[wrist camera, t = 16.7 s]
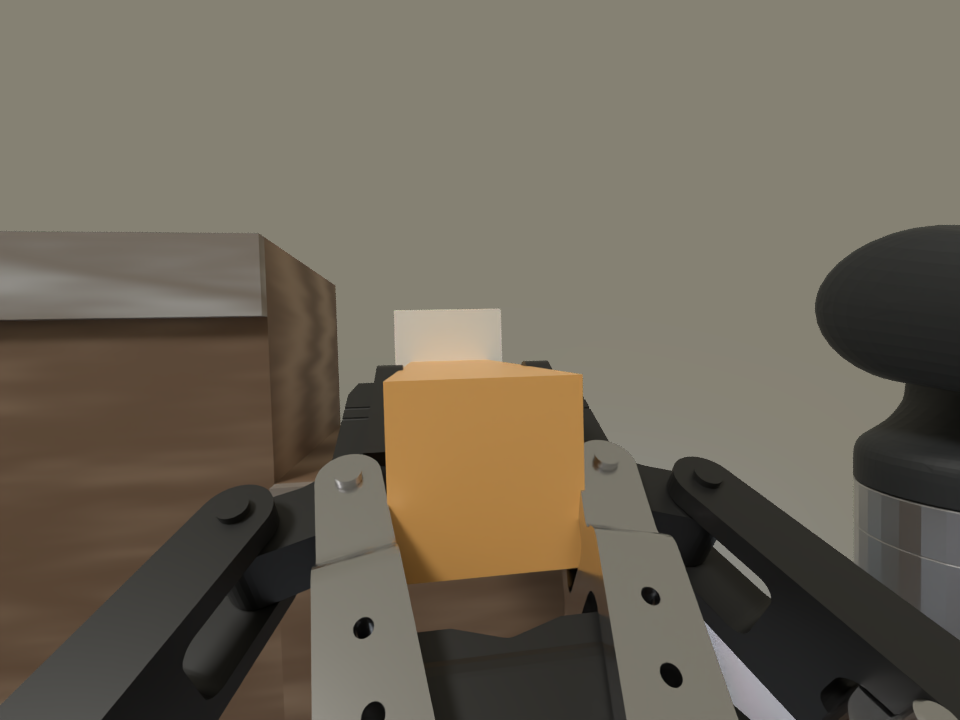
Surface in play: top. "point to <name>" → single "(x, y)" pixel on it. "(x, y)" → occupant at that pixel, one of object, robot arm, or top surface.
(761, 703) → the top surface
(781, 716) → the top surface
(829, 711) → the robot arm
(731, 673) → the top surface
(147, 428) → the rail stand
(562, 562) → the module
